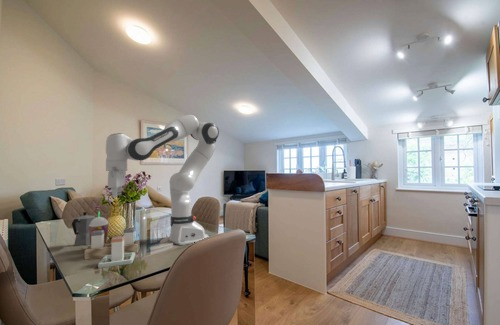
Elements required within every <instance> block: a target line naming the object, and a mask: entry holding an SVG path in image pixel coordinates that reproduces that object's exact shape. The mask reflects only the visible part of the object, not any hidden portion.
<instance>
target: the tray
mask: <svg viewBox="0 0 500 325" xmlns="http://www.w3.org/2000/svg"><path fill="white" fill-rule="evenodd" d="M135 257H136V254H135V252H131V253H124V258H129V259H124V260H121V261H113V262H111V261H108V260H111V255H105V256H104V257H103V258H101V260H100V261H99V262H98V263H97V267H98V268H97V269H100V268H101V269H102V268H109V267H117V266H124V265H131V264H133V262H134V260H135Z"/></svg>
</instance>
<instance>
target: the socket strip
mask: <svg viewBox="0 0 500 325" xmlns="http://www.w3.org/2000/svg"><path fill="white" fill-rule="evenodd" d="M111 246H112V243H111V242H110V243H107V244H104V247H103V248H96V249H91V245H88V247H87V248H86V249H84V261H85V260H92V259H93V260H95V259H103V258H104V256H105V255H111ZM139 250H140V240H135V244H133V245H124V253H131V252H135V255H136V254H138V253H139Z"/></svg>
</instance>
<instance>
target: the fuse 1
mask: <svg viewBox="0 0 500 325" xmlns="http://www.w3.org/2000/svg"><path fill="white" fill-rule="evenodd" d="M103 247H104V230H97V231H93V232H92V233H91V249H96V248H103Z"/></svg>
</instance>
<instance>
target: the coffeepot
mask: <svg viewBox="0 0 500 325" xmlns="http://www.w3.org/2000/svg"><path fill="white" fill-rule="evenodd" d="M94 218H96V217H95V215H89V214H88V215H87V211H83V213H82V215H80V216H77V217H75V218H74V219H73V220H72V222H71V226H72V230H73V234H74V235H75V239H74V243H73V244H74V245H73V247H82V246H90V236H89V225H90V223H91V221H92V220H93V219H94Z"/></svg>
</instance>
